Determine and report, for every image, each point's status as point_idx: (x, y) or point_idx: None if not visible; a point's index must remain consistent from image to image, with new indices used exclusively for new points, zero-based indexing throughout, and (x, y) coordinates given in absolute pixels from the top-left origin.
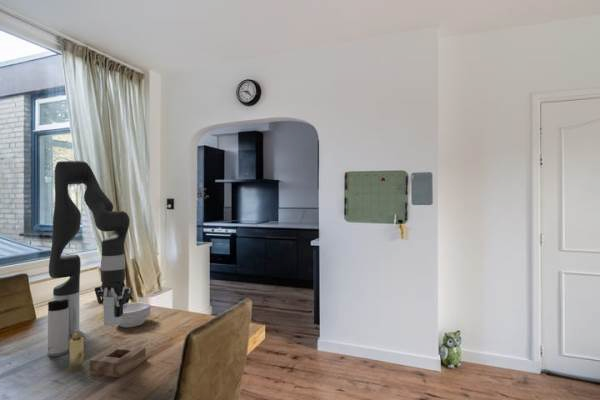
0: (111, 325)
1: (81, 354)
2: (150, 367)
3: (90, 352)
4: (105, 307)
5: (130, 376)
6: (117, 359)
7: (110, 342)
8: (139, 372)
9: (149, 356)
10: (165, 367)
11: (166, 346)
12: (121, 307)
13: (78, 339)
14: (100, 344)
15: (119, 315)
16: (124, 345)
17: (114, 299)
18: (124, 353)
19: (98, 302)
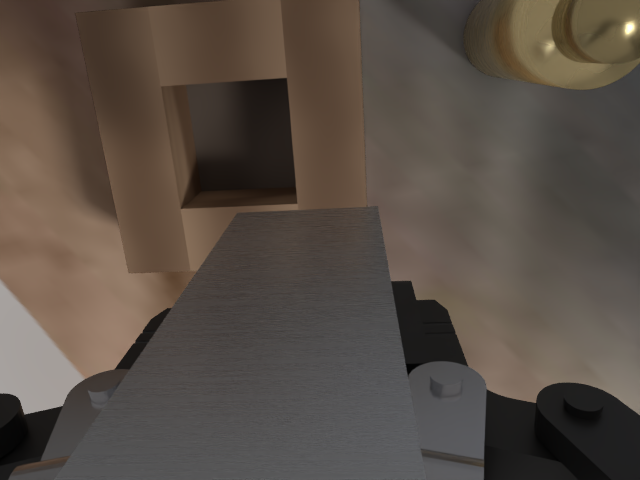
0: (272, 213)
1: (487, 31)
2: (63, 174)
3: (586, 243)
4: (360, 315)
5: None
6: (158, 61)
7: (556, 383)
8: (74, 106)
9: (175, 284)
10: None
11: None
12: None
13: (557, 8)
14: (603, 348)
15: (170, 309)
16: None
17: (82, 456)
18: (243, 198)
19: (614, 403)
